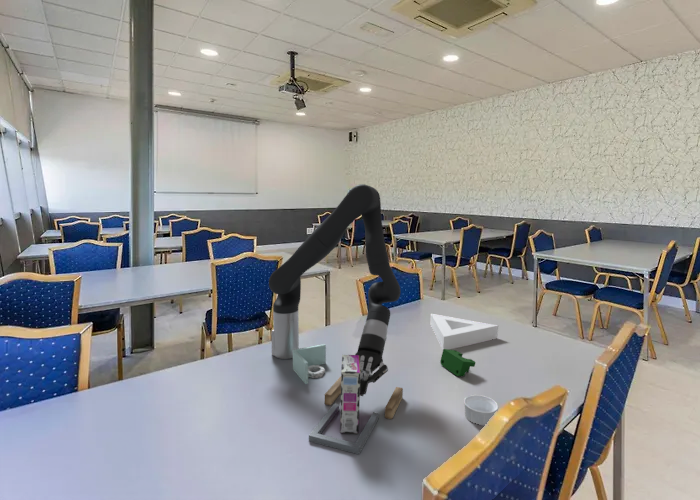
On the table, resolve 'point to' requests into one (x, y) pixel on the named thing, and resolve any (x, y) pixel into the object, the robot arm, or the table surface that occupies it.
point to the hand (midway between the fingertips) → (359, 395)
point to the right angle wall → (309, 361)
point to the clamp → (456, 362)
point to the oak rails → (389, 409)
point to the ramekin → (479, 408)
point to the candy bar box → (350, 394)
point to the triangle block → (461, 331)
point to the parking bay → (338, 443)
